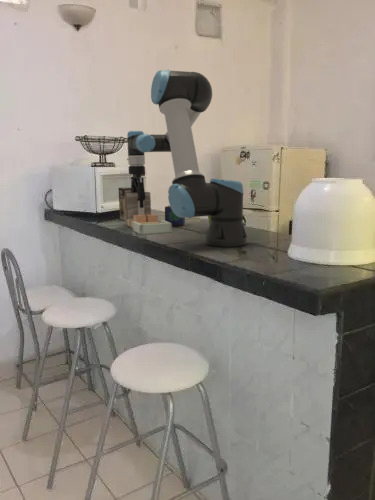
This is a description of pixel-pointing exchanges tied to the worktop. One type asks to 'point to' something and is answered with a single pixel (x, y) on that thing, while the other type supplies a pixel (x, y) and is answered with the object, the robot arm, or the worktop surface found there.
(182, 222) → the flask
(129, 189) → the coffee box
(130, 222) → the board
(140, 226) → the tray
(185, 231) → the worktop surface
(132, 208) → the tan block
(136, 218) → the tile
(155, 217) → the tile
